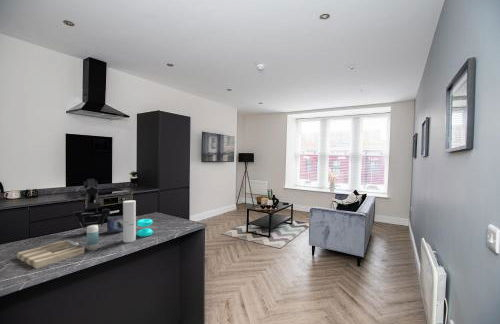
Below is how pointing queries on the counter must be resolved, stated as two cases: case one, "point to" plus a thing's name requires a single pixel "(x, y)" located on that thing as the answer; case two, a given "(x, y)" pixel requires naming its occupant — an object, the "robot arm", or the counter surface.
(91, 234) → the white teal rounded cylinder
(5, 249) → the counter surface
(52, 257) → the light wood flat tray
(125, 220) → the cylindrical container
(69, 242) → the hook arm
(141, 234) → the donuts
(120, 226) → the small box
